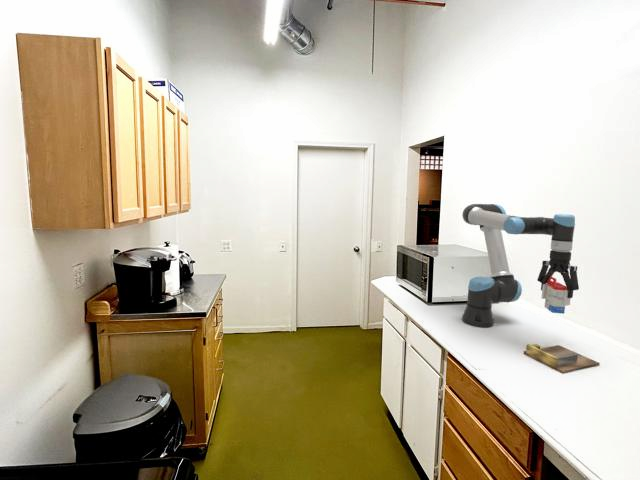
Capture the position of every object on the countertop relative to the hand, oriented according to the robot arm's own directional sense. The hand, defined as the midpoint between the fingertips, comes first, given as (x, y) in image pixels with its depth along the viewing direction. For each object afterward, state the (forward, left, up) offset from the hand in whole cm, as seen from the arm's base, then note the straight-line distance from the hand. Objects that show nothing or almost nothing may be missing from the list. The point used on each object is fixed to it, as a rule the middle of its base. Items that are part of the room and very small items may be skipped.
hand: (555, 301), depth 153 cm
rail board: (+9, -6, -21) cm, 24 cm away
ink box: (0, 0, -4) cm, 4 cm away
